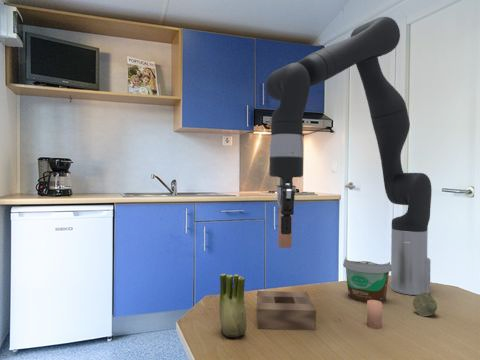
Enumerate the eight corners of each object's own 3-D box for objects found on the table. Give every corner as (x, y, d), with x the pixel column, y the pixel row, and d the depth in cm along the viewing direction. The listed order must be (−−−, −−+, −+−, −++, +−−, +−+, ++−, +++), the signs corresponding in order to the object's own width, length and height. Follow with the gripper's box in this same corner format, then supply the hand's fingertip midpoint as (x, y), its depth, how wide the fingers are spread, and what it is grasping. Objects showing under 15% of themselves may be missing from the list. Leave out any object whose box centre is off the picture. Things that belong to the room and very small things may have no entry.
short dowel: (378, 322, 78) (379, 299, 78) (383, 328, 75) (384, 304, 75) (365, 322, 78) (365, 299, 78) (369, 328, 75) (369, 304, 75)
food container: (338, 299, 92) (338, 261, 92) (343, 293, 98) (343, 256, 98) (389, 308, 86) (390, 267, 86) (391, 300, 92) (392, 262, 92)
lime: (439, 319, 80) (439, 297, 80) (416, 317, 81) (416, 295, 81) (433, 312, 84) (433, 291, 84) (411, 310, 85) (411, 289, 85)
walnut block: (306, 308, 86) (307, 292, 86) (315, 329, 74) (315, 310, 74) (257, 307, 86) (257, 290, 86) (257, 328, 74) (258, 309, 74)
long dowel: (290, 245, 81) (291, 201, 81) (292, 247, 78) (293, 202, 78) (277, 245, 81) (278, 201, 81) (278, 247, 78) (279, 202, 78)
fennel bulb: (215, 331, 73) (216, 272, 73) (237, 326, 75) (237, 269, 75) (228, 342, 68) (229, 279, 68) (250, 337, 70) (251, 276, 70)
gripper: (308, 153, 73) (306, 238, 73) (299, 158, 87) (297, 228, 87) (271, 153, 73) (270, 237, 73) (268, 157, 87) (267, 228, 87)
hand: (285, 232), depth 80 cm, fingers closed on long dowel, 3 cm apart
